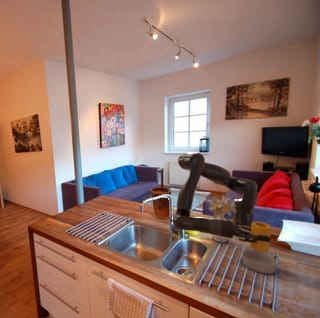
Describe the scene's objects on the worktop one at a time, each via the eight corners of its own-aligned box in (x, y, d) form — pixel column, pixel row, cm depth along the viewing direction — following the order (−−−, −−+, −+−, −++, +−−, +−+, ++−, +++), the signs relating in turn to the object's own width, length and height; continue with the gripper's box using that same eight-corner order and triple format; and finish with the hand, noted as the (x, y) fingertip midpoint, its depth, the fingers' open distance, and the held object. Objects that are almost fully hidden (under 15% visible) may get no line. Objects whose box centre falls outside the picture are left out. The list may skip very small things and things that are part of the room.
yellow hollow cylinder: (247, 244, 91) (248, 221, 89) (261, 244, 90) (263, 221, 88) (256, 252, 85) (258, 228, 83) (272, 252, 84) (274, 228, 82)
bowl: (235, 256, 100) (235, 249, 99) (262, 257, 98) (263, 249, 98) (252, 273, 88) (253, 265, 88) (284, 274, 86) (284, 265, 86)
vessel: (150, 218, 148) (149, 192, 146) (151, 210, 161) (151, 186, 159) (171, 220, 143) (171, 193, 140) (171, 212, 156) (170, 187, 153)
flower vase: (207, 245, 111) (207, 202, 107) (208, 230, 126) (208, 192, 122) (236, 252, 103) (238, 205, 100) (234, 235, 118) (235, 194, 115)
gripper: (221, 227, 87) (273, 235, 78) (219, 214, 99) (264, 220, 90) (220, 242, 89) (272, 253, 80) (219, 228, 101) (263, 235, 91)
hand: (267, 235), depth 85 cm, fingers closed on yellow hollow cylinder, 6 cm apart
